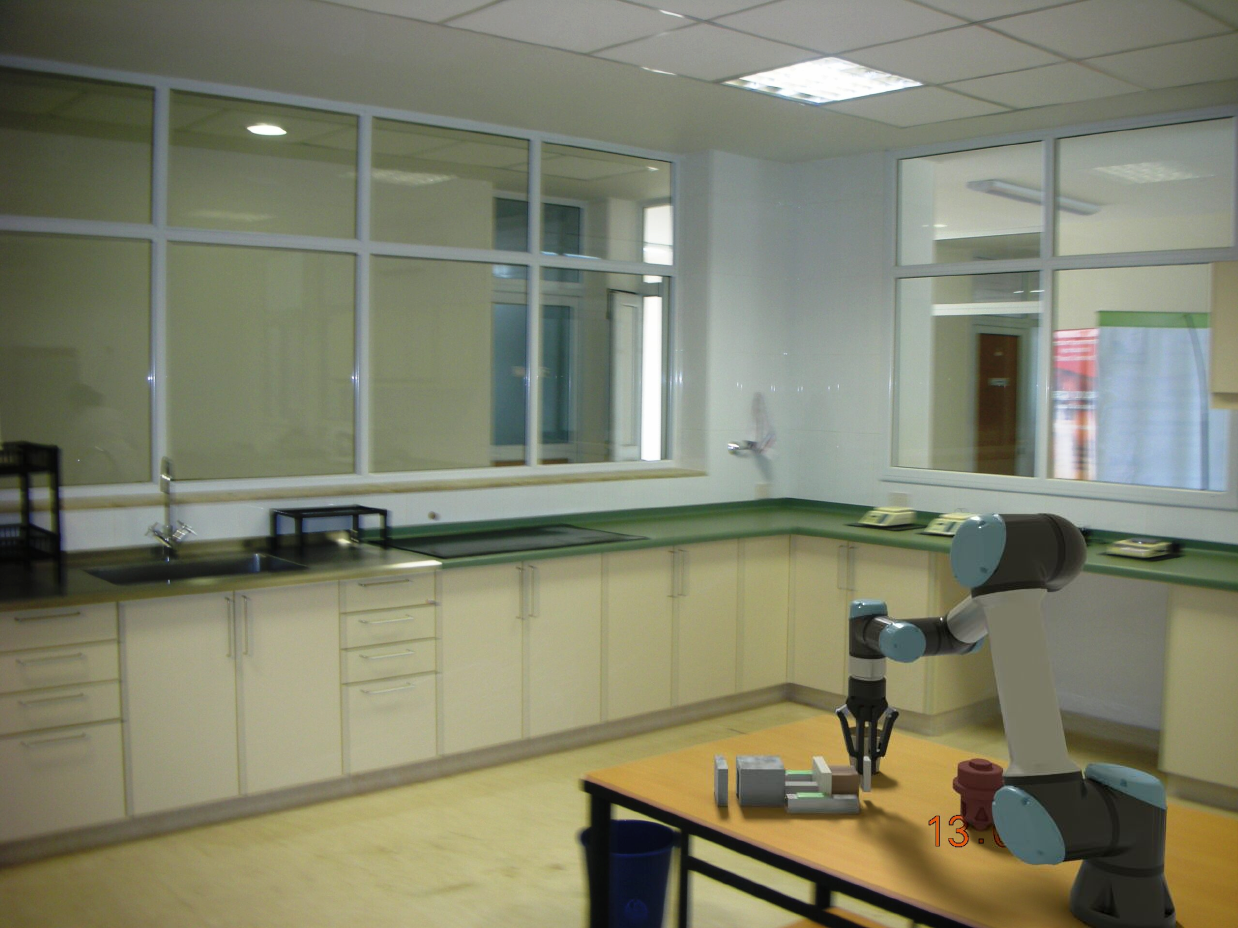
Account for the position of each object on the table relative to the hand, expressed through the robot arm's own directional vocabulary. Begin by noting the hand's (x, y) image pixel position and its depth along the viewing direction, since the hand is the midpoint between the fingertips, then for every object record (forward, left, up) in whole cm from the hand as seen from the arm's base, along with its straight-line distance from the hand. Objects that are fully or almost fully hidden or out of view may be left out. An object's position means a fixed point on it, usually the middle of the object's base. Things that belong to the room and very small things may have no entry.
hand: (865, 789), depth 218 cm
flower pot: (+18, -4, -2) cm, 18 cm away
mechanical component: (-13, -19, -2) cm, 23 cm away
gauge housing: (0, +17, -2) cm, 17 cm away
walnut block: (0, +5, -2) cm, 5 cm away
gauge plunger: (0, +15, -2) cm, 15 cm away
